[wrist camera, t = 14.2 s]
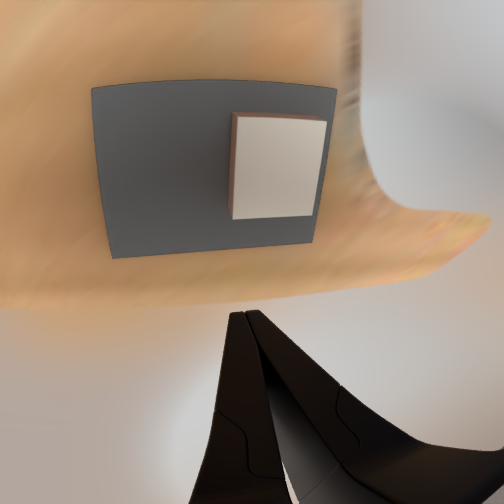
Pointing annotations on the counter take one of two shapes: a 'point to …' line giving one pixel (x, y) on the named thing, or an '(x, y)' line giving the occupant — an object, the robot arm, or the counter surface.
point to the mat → (189, 163)
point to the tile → (274, 164)
